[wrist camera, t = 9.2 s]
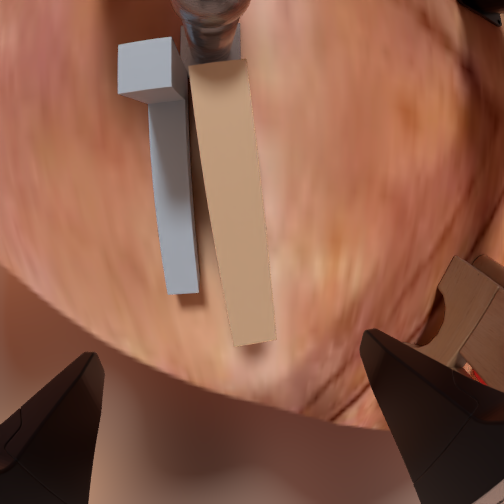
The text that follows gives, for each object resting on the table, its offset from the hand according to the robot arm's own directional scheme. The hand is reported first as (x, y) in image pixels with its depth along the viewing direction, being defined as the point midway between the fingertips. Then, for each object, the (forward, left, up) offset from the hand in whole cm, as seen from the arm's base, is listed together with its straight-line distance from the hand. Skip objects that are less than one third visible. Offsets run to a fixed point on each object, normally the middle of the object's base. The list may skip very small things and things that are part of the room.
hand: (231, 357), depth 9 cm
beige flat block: (-1, -3, -12) cm, 12 cm away
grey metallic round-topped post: (0, -12, -12) cm, 17 cm away
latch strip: (+2, -3, -12) cm, 13 cm away
